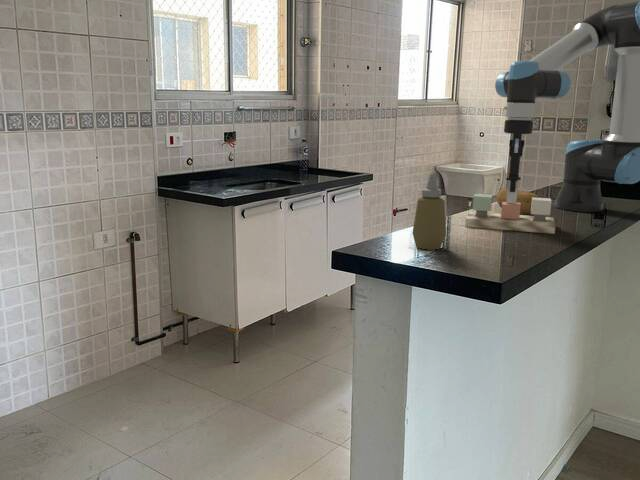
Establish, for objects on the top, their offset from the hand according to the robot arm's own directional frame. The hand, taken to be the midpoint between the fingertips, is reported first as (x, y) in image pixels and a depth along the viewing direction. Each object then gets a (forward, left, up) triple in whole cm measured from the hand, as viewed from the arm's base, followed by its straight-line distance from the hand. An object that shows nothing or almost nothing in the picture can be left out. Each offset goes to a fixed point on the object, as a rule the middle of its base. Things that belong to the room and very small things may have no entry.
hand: (511, 202), depth 172 cm
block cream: (-7, +4, -5) cm, 9 cm away
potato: (-12, -16, -7) cm, 21 cm away
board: (0, 0, -7) cm, 7 cm away
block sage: (+7, -4, -5) cm, 9 cm away
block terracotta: (0, 0, -7) cm, 7 cm away
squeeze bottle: (+34, +21, -7) cm, 40 cm away
